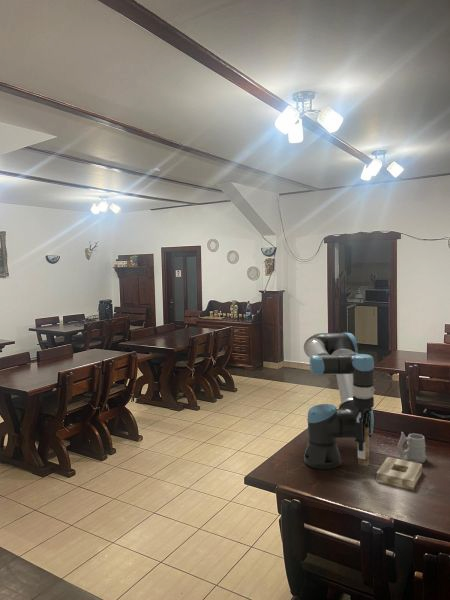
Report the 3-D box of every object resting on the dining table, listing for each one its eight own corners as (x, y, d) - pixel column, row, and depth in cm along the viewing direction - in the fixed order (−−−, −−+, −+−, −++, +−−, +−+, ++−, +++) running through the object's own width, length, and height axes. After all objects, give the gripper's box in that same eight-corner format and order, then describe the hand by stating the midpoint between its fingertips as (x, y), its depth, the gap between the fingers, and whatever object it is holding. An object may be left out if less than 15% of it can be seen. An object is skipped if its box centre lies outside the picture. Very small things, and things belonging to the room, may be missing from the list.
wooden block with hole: (376, 481, 171) (376, 472, 171) (387, 465, 184) (387, 456, 184) (413, 490, 164) (413, 481, 164) (422, 472, 177) (422, 463, 177)
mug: (430, 462, 185) (430, 434, 184) (402, 464, 184) (402, 436, 183) (420, 454, 193) (420, 427, 192) (393, 456, 192) (393, 429, 191)
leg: (356, 464, 172) (356, 429, 171) (359, 460, 176) (359, 425, 174) (367, 467, 170) (367, 431, 169) (370, 462, 173) (370, 427, 172)
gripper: (366, 404, 161) (366, 467, 163) (379, 391, 175) (379, 449, 177) (345, 400, 165) (346, 462, 168) (360, 388, 179) (360, 445, 182)
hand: (363, 455), depth 172 cm, fingers closed on leg, 4 cm apart
